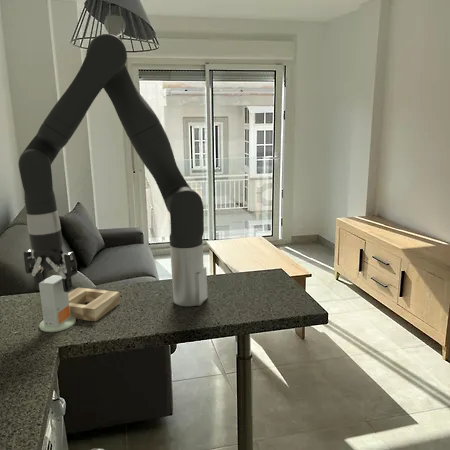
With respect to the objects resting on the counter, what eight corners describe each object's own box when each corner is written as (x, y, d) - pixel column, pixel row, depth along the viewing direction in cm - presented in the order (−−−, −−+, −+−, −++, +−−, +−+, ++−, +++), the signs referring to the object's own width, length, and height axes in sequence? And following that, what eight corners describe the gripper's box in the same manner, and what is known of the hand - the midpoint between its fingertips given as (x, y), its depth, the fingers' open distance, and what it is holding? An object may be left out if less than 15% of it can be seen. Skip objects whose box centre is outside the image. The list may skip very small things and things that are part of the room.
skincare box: (58, 327, 113) (52, 284, 110) (43, 326, 114) (37, 283, 111) (71, 317, 118) (66, 275, 115) (57, 316, 119) (52, 274, 116)
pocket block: (120, 303, 128) (118, 292, 127) (95, 321, 117) (94, 309, 116) (79, 298, 132) (78, 287, 132) (52, 315, 121) (50, 303, 121)
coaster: (82, 318, 119) (82, 316, 119) (60, 334, 111) (60, 331, 110) (55, 314, 122) (55, 312, 122) (31, 329, 113) (31, 327, 113)
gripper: (78, 226, 111) (86, 286, 115) (32, 224, 115) (41, 282, 119) (58, 234, 104) (67, 298, 108) (10, 232, 109) (21, 293, 113)
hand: (54, 289), depth 114 cm, fingers open, 8 cm apart
